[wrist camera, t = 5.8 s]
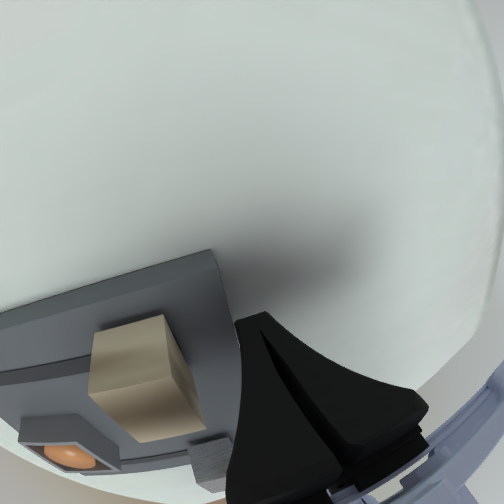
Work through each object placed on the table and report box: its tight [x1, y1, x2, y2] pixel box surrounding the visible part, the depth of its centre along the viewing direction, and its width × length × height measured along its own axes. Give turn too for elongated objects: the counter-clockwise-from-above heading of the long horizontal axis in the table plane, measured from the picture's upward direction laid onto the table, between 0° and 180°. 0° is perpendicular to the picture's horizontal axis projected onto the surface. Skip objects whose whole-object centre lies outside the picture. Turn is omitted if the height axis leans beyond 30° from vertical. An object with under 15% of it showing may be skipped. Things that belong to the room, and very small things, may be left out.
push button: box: [44, 445, 96, 469], centre depth 12 cm, size 4×4×2 cm
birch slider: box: [88, 314, 207, 443], centre depth 10 cm, size 4×3×3 cm
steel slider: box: [187, 437, 233, 493], centre depth 16 cm, size 4×3×3 cm
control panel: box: [0, 249, 241, 476], centre depth 13 cm, size 18×18×4 cm
